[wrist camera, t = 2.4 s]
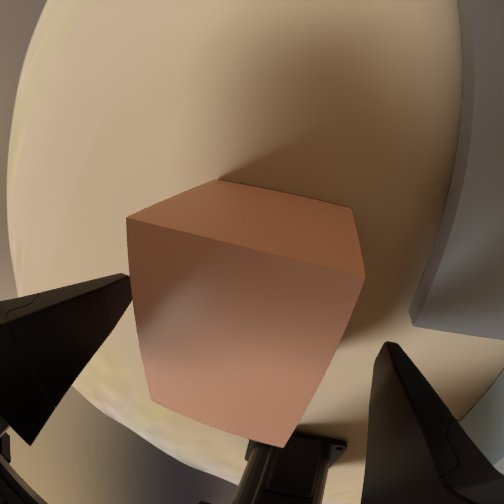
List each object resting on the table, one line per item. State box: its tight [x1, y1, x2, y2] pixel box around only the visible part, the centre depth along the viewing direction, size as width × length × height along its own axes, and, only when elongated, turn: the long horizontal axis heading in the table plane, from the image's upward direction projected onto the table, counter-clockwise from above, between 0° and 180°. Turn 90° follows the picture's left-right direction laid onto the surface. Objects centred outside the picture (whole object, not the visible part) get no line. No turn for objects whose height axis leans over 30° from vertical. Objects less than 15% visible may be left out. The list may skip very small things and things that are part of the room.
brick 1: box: [126, 180, 366, 448], centre depth 9 cm, size 7×5×5 cm
